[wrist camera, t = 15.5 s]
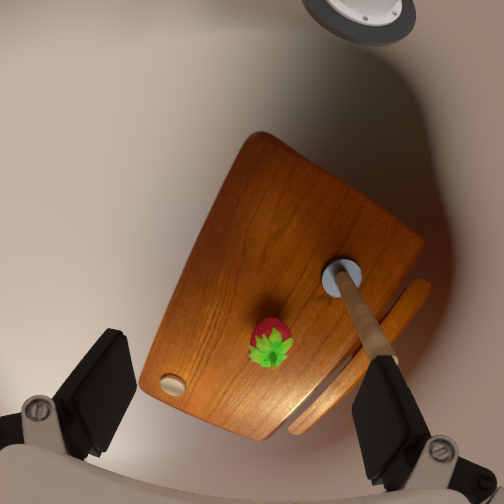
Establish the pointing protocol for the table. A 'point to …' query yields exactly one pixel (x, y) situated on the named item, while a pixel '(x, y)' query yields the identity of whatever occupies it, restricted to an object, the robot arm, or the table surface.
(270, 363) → the strawberry
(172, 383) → the puck
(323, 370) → the table surface
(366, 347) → the post
